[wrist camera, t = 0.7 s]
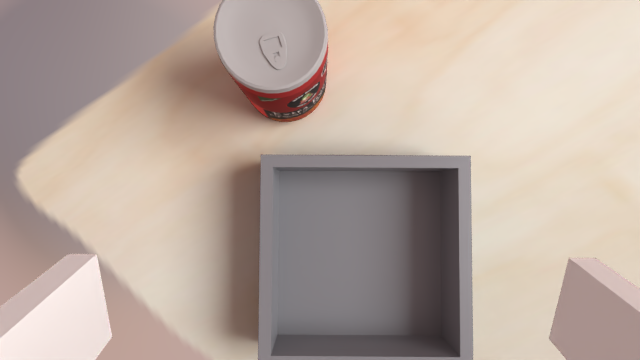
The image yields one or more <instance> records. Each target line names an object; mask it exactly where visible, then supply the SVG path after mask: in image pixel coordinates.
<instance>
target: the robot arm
mask: <svg viewBox="0 0 640 360" xmlns="http://www.w3.org/2000/svg"><path fill="white" fill-rule="evenodd" d="M111 338H112V333H111V328H110V323H109V317H108V313H107V307H106V302H105V296H104V291H103V285H102V280H101V275H100V269H99V264H98V259H97V254H68V255H66V256H65V257H64V258H62V259H61V260H60V261H59V262H57V263H56V264H55V265H53V266H52V267H51V268H50V269H48V270H47V271H46V272H44V273H43V274H42V275H40V276H39V277H38V278H37V279H36V280H34V281H33V282H31V283H30V284H29V285H28V286H26V287H25V288H24V289H22V290H21V291H20V292H18V293H17V294H16V295H15V296H13V297H12V298H11V299H9V300H8V301H7V302H5V303H4V304H3V305H2V306H0V360H95V359H96V358H97V356H98V355H99V354H100V353H101V351H102V350H103V348H104V347H105V346H106V344H107V343H108V342H109V340H110V339H111ZM549 339H550V341H551V342H552V343H553V344H554V345H555V346H556V348H557V349H558V350H559V351H560V352H561V353H562V355H563V356H564V357H565V358H566V359H567V360H640V288H638V287H637V286H635V285H634V284H633V283H631V282H630V281H628V280H627V279H625V278H624V277H622V276H621V275H620V274H618V273H617V272H615V271H614V270H612V269H611V268H610V267H608V266H607V265H605V264H604V263H602V262H601V261H599V260H598V259H597V258H569V260H568V264H567V268H566V272H565V276H564V280H563V284H562V288H561V292H560V296H559V300H558V304H557V308H556V312H555V316H554V320H553V324H552V328H551V332H550V336H549Z"/></svg>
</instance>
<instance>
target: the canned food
mask: <svg viewBox="0 0 640 360" xmlns="http://www.w3.org/2000/svg"><path fill="white" fill-rule="evenodd" d="M214 41H215V46H216V50H217V52H218V54H219V57H220V59H221V62H222V64H223V65H224V67H225V68H226V70H227V71H228V72H229V74H230V75H231V77H232V78H233V80H234V81H235V82H236V83H237V85H238V86H239V87H240V89H241V90H242V91H243V93H244V94H245V95H246V96H247V98H248V99H249V100H250V102H251V103H252V104H253V105H254V107H255V108H256V109H257V110H258V111H259V112H260V113H262V114H263V115H265V116H266V117H268V118H271V119H273V120H277V121H282V122H291V121H296V120H299V119H302V118H304V117H306V116H307V115H309V114H310V113H312V112H313V111H314V110H315V109H316V107H317V106H318V105H319V103H320V102H321V100H322V98H323V95H324V92H325V87H326V76H327V57H328V29H327V24H326V20H325V16H324V13H323V11H322V8H321V6H320V4H319V2H318V1H317V0H222V2H221V4H220V5H219V8H218V11H217V13H216V16H215V22H214Z"/></svg>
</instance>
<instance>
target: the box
mask: <svg viewBox="0 0 640 360" xmlns="http://www.w3.org/2000/svg"><path fill="white" fill-rule="evenodd" d="M258 360H473V310H472V228H471V156H405V155H261V184H260V259H259V334H258Z"/></svg>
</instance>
